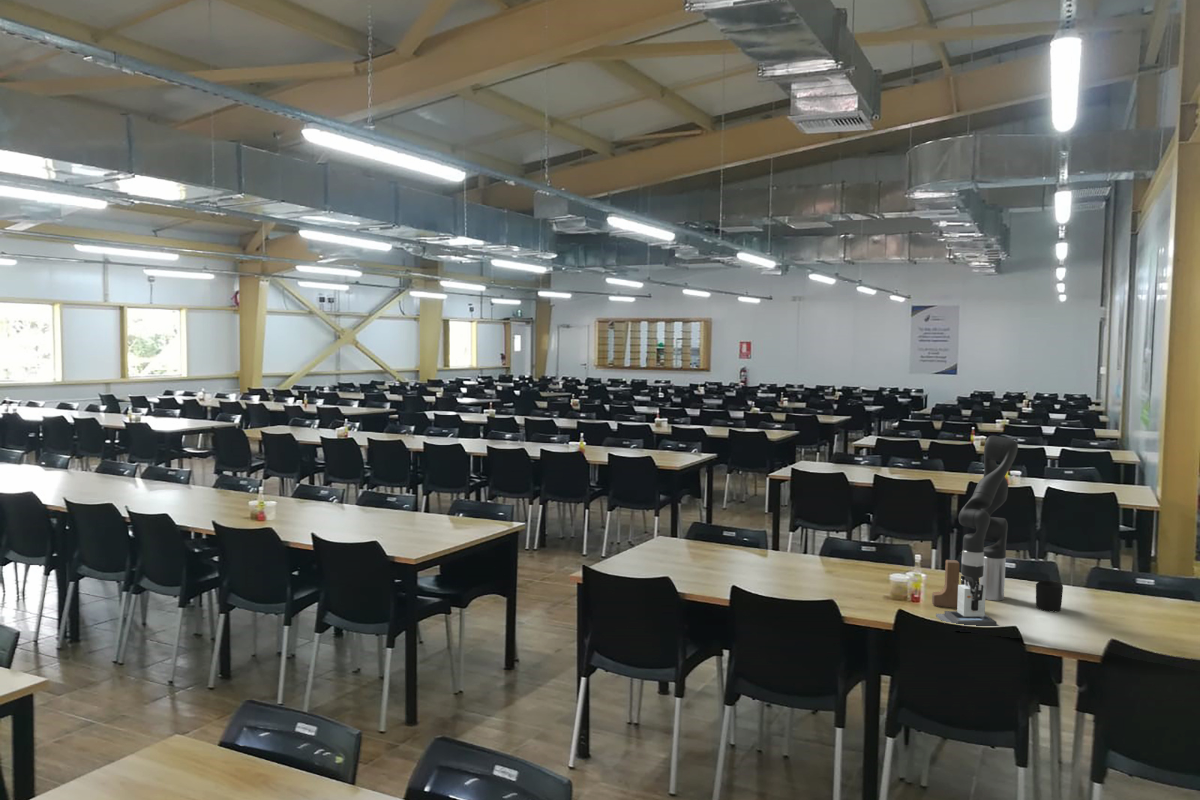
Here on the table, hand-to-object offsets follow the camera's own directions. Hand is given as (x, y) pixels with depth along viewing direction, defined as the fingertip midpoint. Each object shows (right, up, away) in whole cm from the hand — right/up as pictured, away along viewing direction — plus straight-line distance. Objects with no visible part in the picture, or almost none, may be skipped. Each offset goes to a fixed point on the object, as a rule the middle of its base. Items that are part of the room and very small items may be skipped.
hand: (970, 607), depth 312 cm
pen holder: (+40, -6, +21) cm, 46 cm away
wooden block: (0, -5, +23) cm, 24 cm away
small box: (0, -3, 0) cm, 3 cm away
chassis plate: (0, -6, 0) cm, 6 cm away
